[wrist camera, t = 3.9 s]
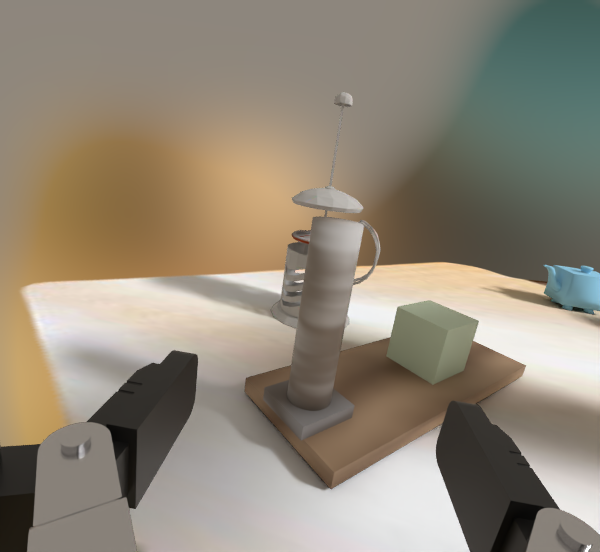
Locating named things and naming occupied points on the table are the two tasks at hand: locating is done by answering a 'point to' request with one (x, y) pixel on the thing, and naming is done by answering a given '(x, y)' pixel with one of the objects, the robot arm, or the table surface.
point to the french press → (298, 251)
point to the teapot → (574, 287)
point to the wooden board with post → (357, 374)
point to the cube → (431, 340)
